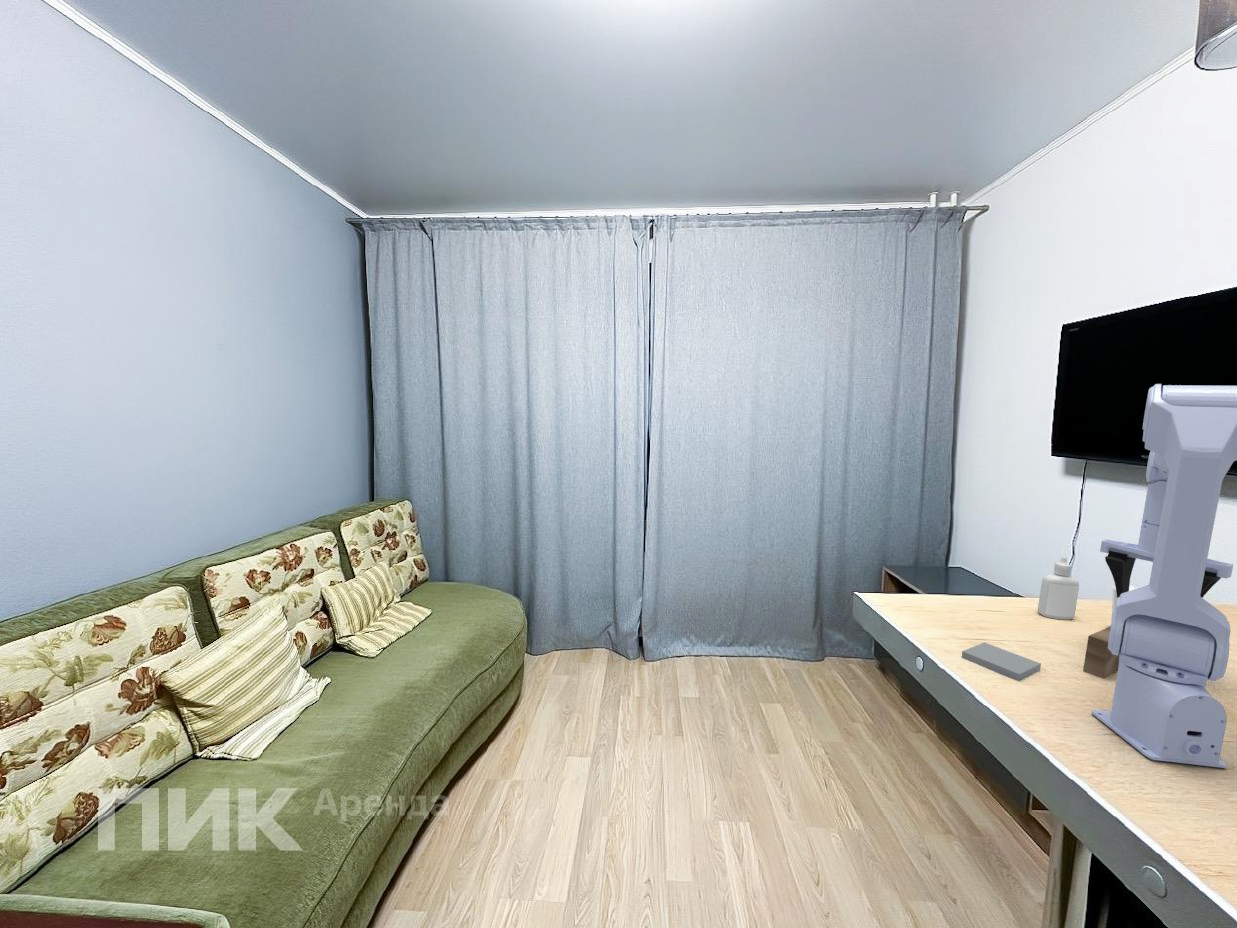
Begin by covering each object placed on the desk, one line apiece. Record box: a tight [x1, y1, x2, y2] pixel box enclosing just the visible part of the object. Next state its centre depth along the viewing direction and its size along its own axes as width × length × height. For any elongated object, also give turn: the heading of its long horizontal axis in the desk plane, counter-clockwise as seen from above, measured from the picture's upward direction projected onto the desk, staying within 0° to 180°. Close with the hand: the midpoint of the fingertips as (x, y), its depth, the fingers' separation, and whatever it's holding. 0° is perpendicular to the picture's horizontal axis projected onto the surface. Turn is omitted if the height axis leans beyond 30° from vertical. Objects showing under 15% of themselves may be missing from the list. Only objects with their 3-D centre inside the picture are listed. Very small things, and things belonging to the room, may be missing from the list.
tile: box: [961, 641, 1042, 682], centre depth 83 cm, size 8×2×7 cm
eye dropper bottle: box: [1037, 556, 1080, 621], centre depth 102 cm, size 4×6×12 cm
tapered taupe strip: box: [1082, 625, 1119, 679], centre depth 84 cm, size 14×2×6 cm, turn 119°
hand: (1153, 607), depth 84 cm, fingers open, 7 cm apart
